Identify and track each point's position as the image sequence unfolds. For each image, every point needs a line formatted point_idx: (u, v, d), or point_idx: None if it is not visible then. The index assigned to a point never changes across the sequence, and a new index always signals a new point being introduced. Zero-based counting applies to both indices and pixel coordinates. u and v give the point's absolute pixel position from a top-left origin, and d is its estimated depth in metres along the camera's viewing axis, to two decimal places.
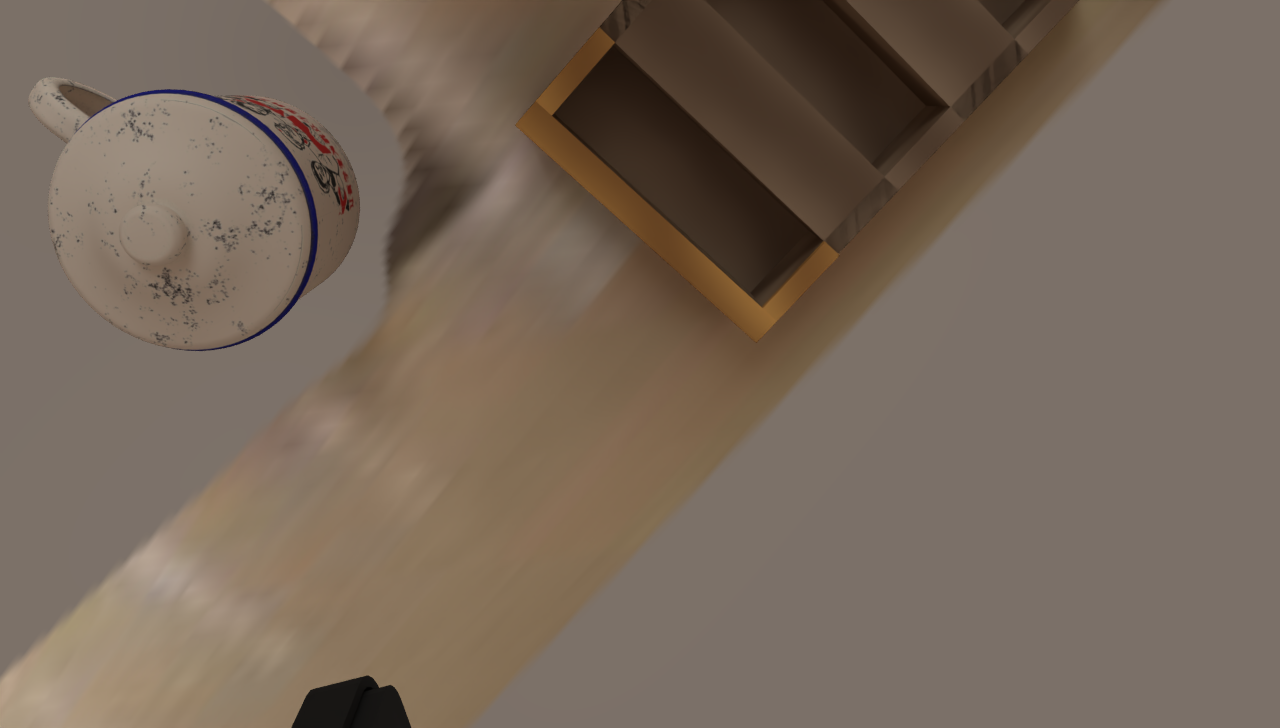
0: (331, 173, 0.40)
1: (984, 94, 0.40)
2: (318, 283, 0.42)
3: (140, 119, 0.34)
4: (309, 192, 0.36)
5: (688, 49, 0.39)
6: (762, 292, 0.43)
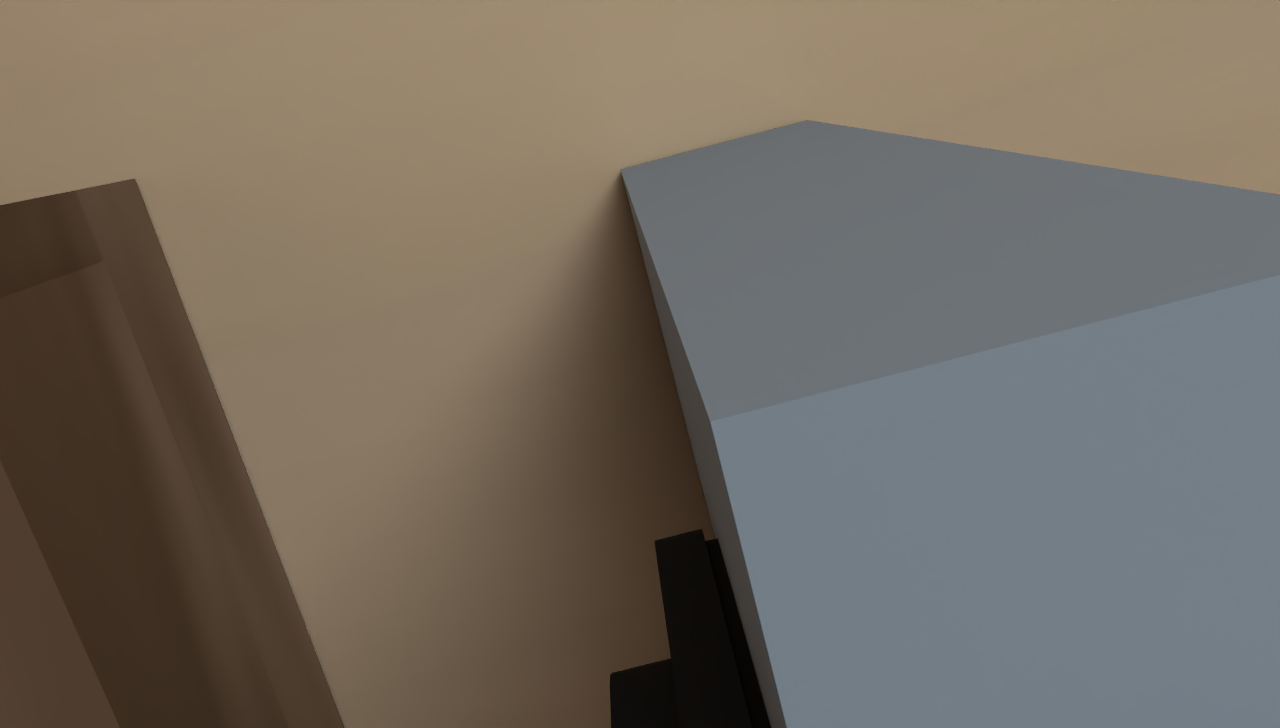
0: None
1: None
2: None
3: None
4: None
5: None
6: None
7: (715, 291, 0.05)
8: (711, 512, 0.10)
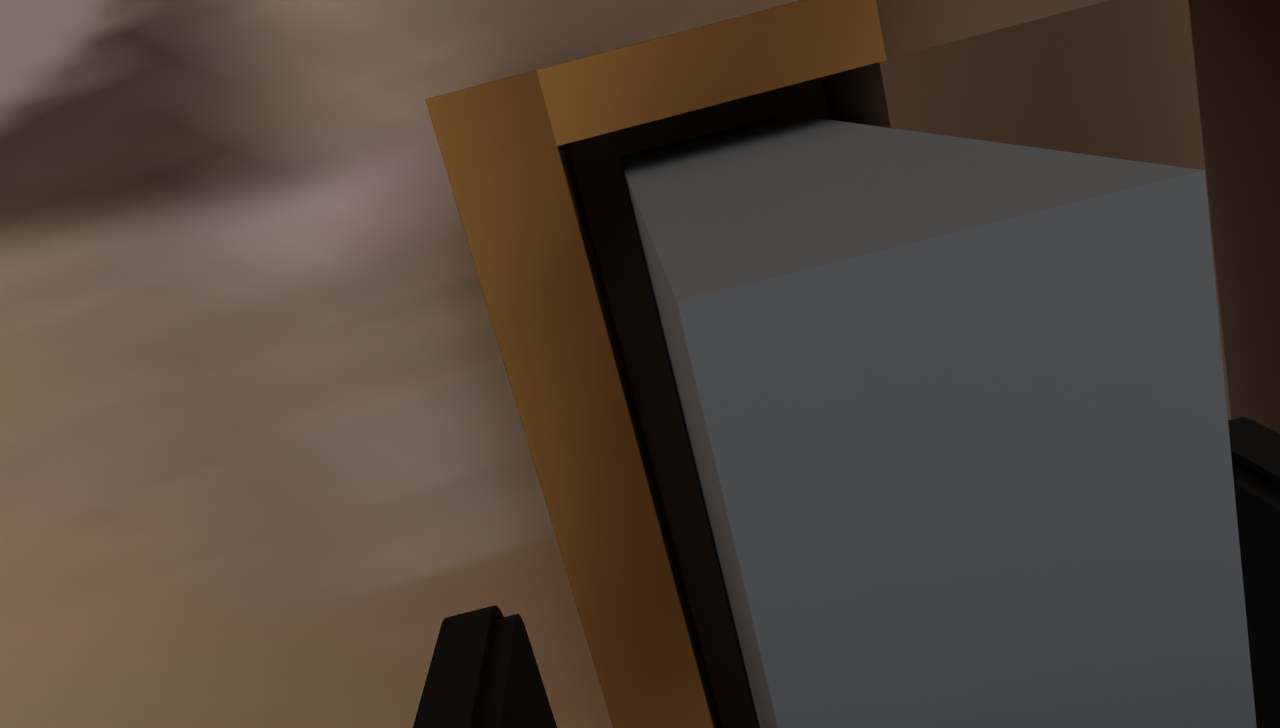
0: None
1: None
2: None
3: None
4: None
5: None
6: None
7: (690, 233, 0.06)
8: (694, 455, 0.11)
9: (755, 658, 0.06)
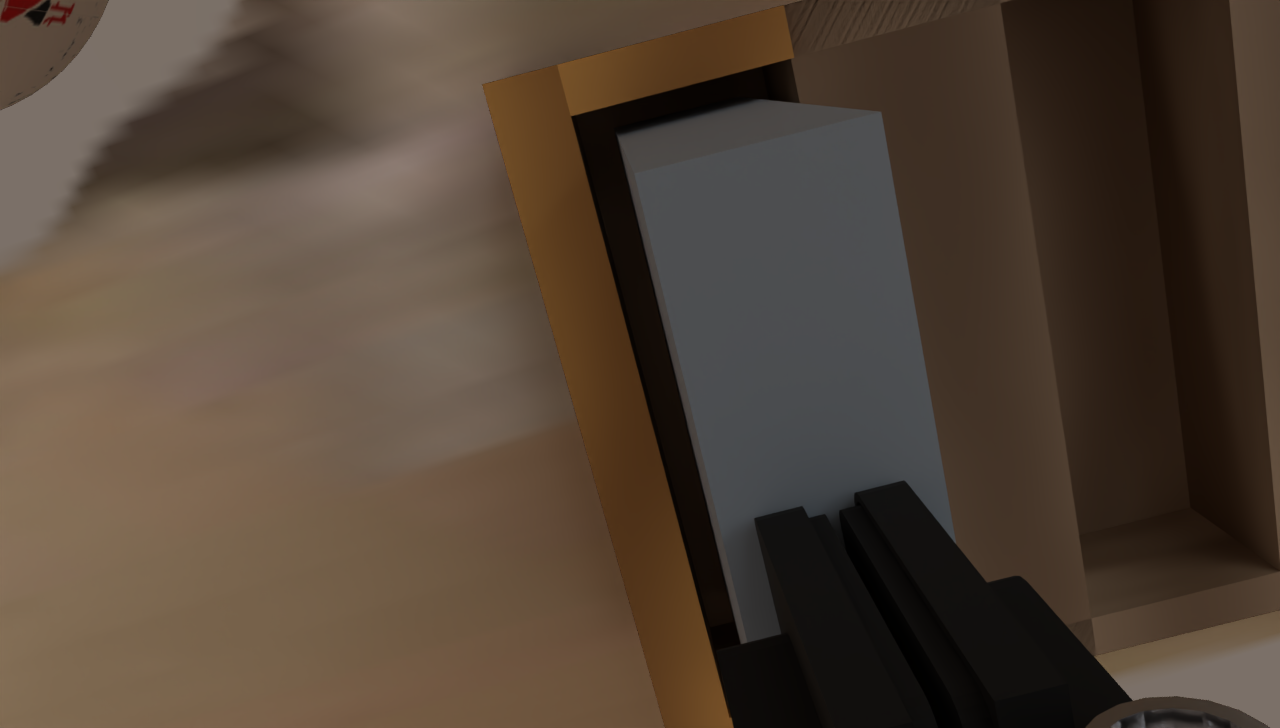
0: None
1: None
2: None
3: None
4: None
5: (918, 169, 0.17)
6: None
7: (648, 154, 0.11)
8: None
9: (684, 390, 0.12)
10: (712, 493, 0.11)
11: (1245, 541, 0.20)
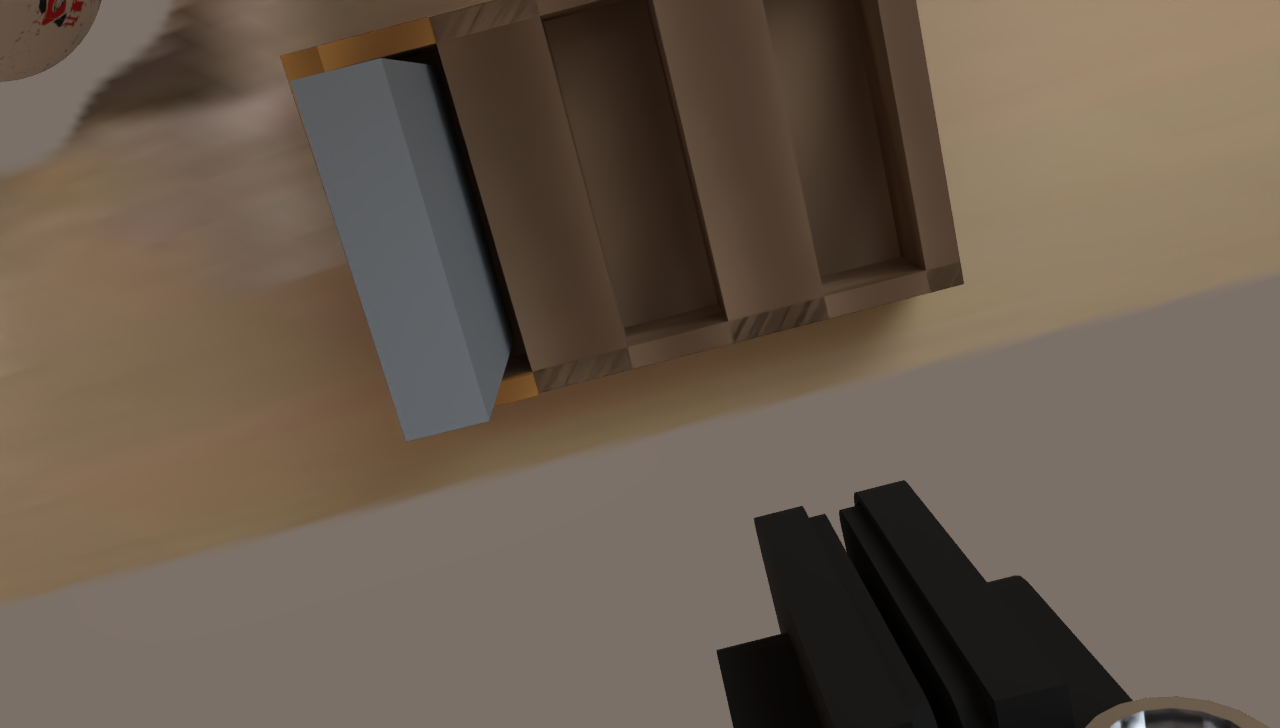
0: None
1: (766, 330, 0.36)
2: None
3: None
4: None
5: (506, 99, 0.33)
6: None
7: None
8: None
9: None
10: (332, 211, 0.27)
11: (723, 311, 0.36)
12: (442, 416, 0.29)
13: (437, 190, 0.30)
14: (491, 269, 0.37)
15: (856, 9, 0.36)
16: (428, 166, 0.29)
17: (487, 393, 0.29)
